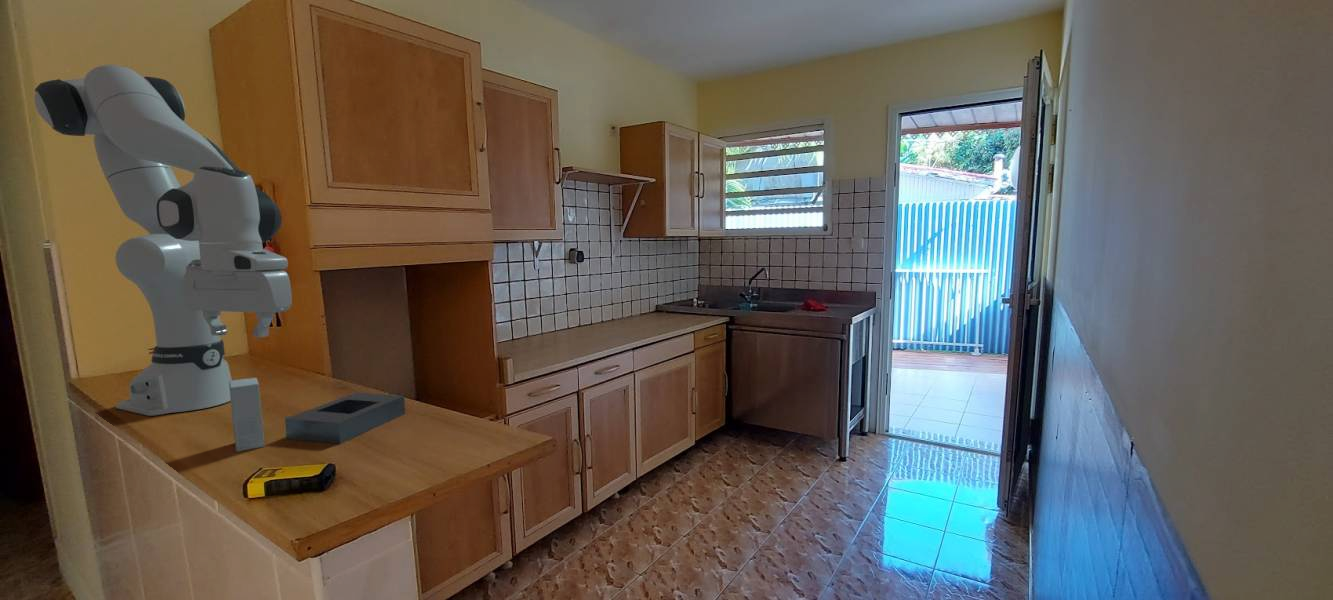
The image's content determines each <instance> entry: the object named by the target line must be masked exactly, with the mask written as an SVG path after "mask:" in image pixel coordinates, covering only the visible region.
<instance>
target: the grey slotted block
mask: <svg viewBox="0 0 1333 600" xmlns="http://www.w3.org/2000/svg"><path fill="white" fill-rule="evenodd" d="M405 406H406V405H405V395H398V394H386V393H385V394H384V393H371V392H369V393H367V392H354V393H352V394H348V395H347V396H346V395H345V396H344V397H340V398H338V399H335V400H332V401H329V402H327V403H324V404H321V405H318V406H316V407H315V406H314V407H313V408H310V409H307V410H304V411H302V412H299V413H296V414H294V415H291V416H289V417H284V424H285V436H286V437H285V438H286V439H288V440H296V441H305V442H306V441H310V442H317V443H329V444H338V445H339V444H343V443H345V442H347V441H349V440H351V439H354V438H356V437H358V436H361V435H362V434H364V433H367V432H369V431H371V430H373V429H375V428H378V427H379V426H381V425H384V424H385V423H388V422H391V421H392V420H395V419H396V418H397V419H398V418H399V417H401V416H403V415H405V414H406V407H405Z"/></svg>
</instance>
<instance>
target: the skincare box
mask: <svg viewBox="0 0 1333 600" xmlns="http://www.w3.org/2000/svg"><path fill="white" fill-rule="evenodd" d="M229 388H230V400H231V401H230V409H231V410H230V411H231V419H232V420H231V421H232V428H233V438H234V443H235V452H237V453H238V452H243V451H248V450H253V449H260V448H263V447H265V436H264V426H263V417H262V406H261V394H260V385H259V380H258V379H257V377H249V378H243V379H242V378H241V379H234V380H233V379H232V381H229Z"/></svg>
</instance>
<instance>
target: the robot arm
mask: <svg viewBox="0 0 1333 600" xmlns="http://www.w3.org/2000/svg"><path fill="white" fill-rule="evenodd" d="M34 91H35V94H34V105H35V108H36V111H37V112H38V114H39V116H40V117H41V118H42V119H43V121H45V123H46V124H47V125H49V127H51V128H52V130H54V131H56V132H58V133H60V134H61V135H65V136H73V137H74V136H75V137H84V136H86V135H88V136H89V135H92V136H94V137H93V144H94V149H95V152H96V156H97V158H98V159H97V160H98V162H99V166H100V169H101V170H102V173H103V175H104V177H105V179H106V182H107V183H108V185H109V188H110V189H111V192H112V194H113V195H114V197H115V200H116V202H117V203H118V206H119V207H120V210H121V211H122V213H123V215H125V216H126V218H128V219H129V220H130V221H132V222H134V223H136V224H137V225H139V226H140V227H141V228H143V229H144V230H145V231H146V232H147V233H148V234H144V235H140V236H137V237H132V238H129V239H127V240H125V241H124V242H122V243H121V244H120V246H119V247H118V248H117V250H116V251H115V252H116V253H115V264H116V267H117V269H118V271H119V272H120V274H121V275H122V276H123V277H124V278H125V279H127V280H129V281H131V282H133V284H134V285H136V286H137V287H138V289H139V290H140V292H142V294H143V296H144V297H145V300H146V301H147V303H148V306H149V308H150V311H151V314H152V318H153V325H154V327H153V328H154V331H155V341H156V345H155V347H154V348H153V347H152V348H148V349H147V350H148V351H150V352H148V353H147V354H148V355H152V356H151V363H150V364H149V365H148V366H147V367H145V369H143V370H142V371H141V372H140V373H138V374H137V375H136V376H134V377H133V378H132V379H131V381H130V383H129V398H128V399H124V400H121V401H119V402H117V403H116V404H115V408H116V409H119V410H123V411H127V412H132V413H136V414H140V415H145V416H149V417H152V416H153V417H154V416H160V415H165V414H171V413H181V412H189V411H197V410H201V409H207V408H211V407H216V406H219V405H222V404H225V403H228V402H231V400H230V388H229V381H233V379H232V376H231V371H230V367H229V363H228V362H227V360H225V359H224V357H223V356H225V355H226V354H225V352H226V351H225V349H226V348H225V344H224V340H223V339H222V338H221V336H225V335H226V334H227V333H228V331H227V324H223V323H222V320H221V317H220V316H222V312H228V313H229V312H230V313H231V312H232V313H233V312H235V313H236V312H237V313H255V316H256V317H255V318H256V319H258V321H257V323H256V327H252V333H253V337H254V338H266V337H269V335H270V330H269V329H270V325H271V323H272V321H273V319H274V313H275V314H276V313H281V312H286V311H289V309H290V308H291V306H292V304H293V303H292V302H293V299H292V289H291V288H292V287H291V281H290V276H289V274H288V273H287V272H286V271H285V270H286V269H288V267H289V261H288V259H287V257H285V256H283V255H280V254H278V253H275V252H272V251H270V250H268V249H265V248H264V247H263V244H264V243H267V241H269V240H270V239H272V238H273V237H274V236H275V235H276V234H277V233H278V231H279V230H280V228H281V227H282V221H283V218H282V213H281V210H280V208H279V206H278V204H276V202H275V200H273V198H272V197H271V196H270V195H268V194H267V193H266V192H264V191H263V190H261V189H260V188H258V187H257V186H256V185H255V181H254V179H253V178H252V175H251V174H249V173H247V172H246V171H243V170H241V169H240V168H238V166H237V165H236V164H235V163H234V162H233V161H232V160H231V159H230V158H229V156H228V155H226V153H224V151H223V150H222V149H221V148H220V147H219V146H218V145H217V144H215V143H214V142H213V141H211V140H210V139H208V138H207V137H206V136H204V135H202V134H201V133H199V132H198V131H196V130H195V129H194V128H192V127H191V126H189V125H188V124H187V123H186V122H185V119H186V106H185V102H184V100H183V98H182V96H181V95H180V93H179V91H178V90H177V89H176V87H175V86H174V85H173V84H172V83H171V82H169V81H168V80H166V79H163V78H159V77H153V76H144V77H143V76H142V75H141V74H139V73H138V72H137V71H135V70H133V69H132V68H128V67H125V66H123V65H117V64H104V65H100V66H97V67H94V68H92V69H91V70H89V71H88V72H87V74H86V75H85V77H84V78H82V77H81V78H74V79H73V78H72V79H66V80H61V79H60V78H59V79H53V80H52V79H51V80H47V81H44V82H40V83H39V84H38V85H37V86H36V87H35V89H34ZM172 167H174V168H177V169H181V170H184V171H186V172H190V173H192V174H194V175H193V178H192V179H191V180H190V181H188V182H187V183H186V184H184V185H182V186H181V185H180V183H179V181H178V179H177V176H176V175H175V172H174V171H173V169H172ZM152 350H153V351H152Z"/></svg>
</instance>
